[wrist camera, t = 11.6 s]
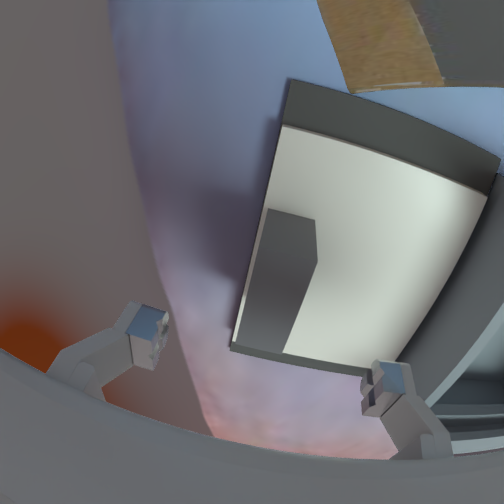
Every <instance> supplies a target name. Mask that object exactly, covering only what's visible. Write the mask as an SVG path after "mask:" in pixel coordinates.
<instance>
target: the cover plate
mask: <svg viewBox="0 0 504 504" xmlns="http://www.w3.org/2000/svg"><path fill="white" fill-rule="evenodd" d="M487 198H488V197H487V196H485V195H484V194H483V193H482V192H480V191H478V190H475V189H473V188H471V187H469V186H467V185H464V184H462V183H460V182H458V181H455V180H453V179H451V178H448V177H446V176H443V175H441V174H439V173H436V172H434V171H431V170H429V169H426V168H423V167H421V166H418V165H416V164H413V163H410V162H408V161H405V160H402V159H399V158H397V157H394V156H391V155H388V154H385V153H382V152H379V151H376V150H373V149H370V148H367V147H364V146H361V145H358V144H355V143H351V142H348V141H345V140H341V139H338V138H334V137H331V136H327V135H324V134H320V133H317V132H313V131H309V130H305V129H301V128H297V127H293V126H289V125H285V124H283V125H282V129H281V133H280V138H279V142H278V146H277V150H276V155H275V159H274V163H273V168H272V172H271V176H270V181H269V185H268V189H267V193H266V198H265V202H264V206H263V211H262V215H261V219H260V224H259V228H258V232H257V236H256V241H255V245H254V249H253V254H252V258H251V262H250V266H249V271H248V275H247V279H246V284H245V288H244V292H243V296H242V301H241V305H240V309H239V314H238V318H237V322H236V326H235V331H234V335H233V339H232V341H234V342H235V344H237V345H241V346H245V347H250V348H254V349H258V350H263V351H267V352H272V353H276V354H281V355H282V353H287V354H291V355H296V356H301V357H306V358H311V359H317V360H322V361H328V362H333V363H339V364H345V365H351V366H357V367H363V368H370V369H372V368H371V364H372V363H373V361H374V360H376V359H381V360H388V361H395V360H396V358H397V357H398V356H399V354H400V353H401V352H402V350H403V349H404V347H405V346H406V344H407V343H408V342H409V340H410V339H411V337H412V336H413V334H414V333H415V331H416V330H417V328H418V327H419V325H420V324H421V322H422V321H423V319H424V318H425V316H426V315H427V313H428V311H429V310H430V308H431V307H432V305H433V303H434V302H435V300H436V298H437V297H438V295H439V293H440V292H441V290H442V288H443V287H444V285H445V283H446V281H447V280H448V278H449V276H450V274H451V272H452V271H453V269H454V267H455V265H456V263H457V261H458V260H459V258H460V256H461V254H462V252H463V250H464V248H465V246H466V244H467V242H468V240H469V238H470V236H471V234H472V232H473V230H474V228H475V225H476V223H477V221H478V219H479V217H480V215H481V212H482V210H483V208H484V205H485V203H486V201H487Z"/></svg>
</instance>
